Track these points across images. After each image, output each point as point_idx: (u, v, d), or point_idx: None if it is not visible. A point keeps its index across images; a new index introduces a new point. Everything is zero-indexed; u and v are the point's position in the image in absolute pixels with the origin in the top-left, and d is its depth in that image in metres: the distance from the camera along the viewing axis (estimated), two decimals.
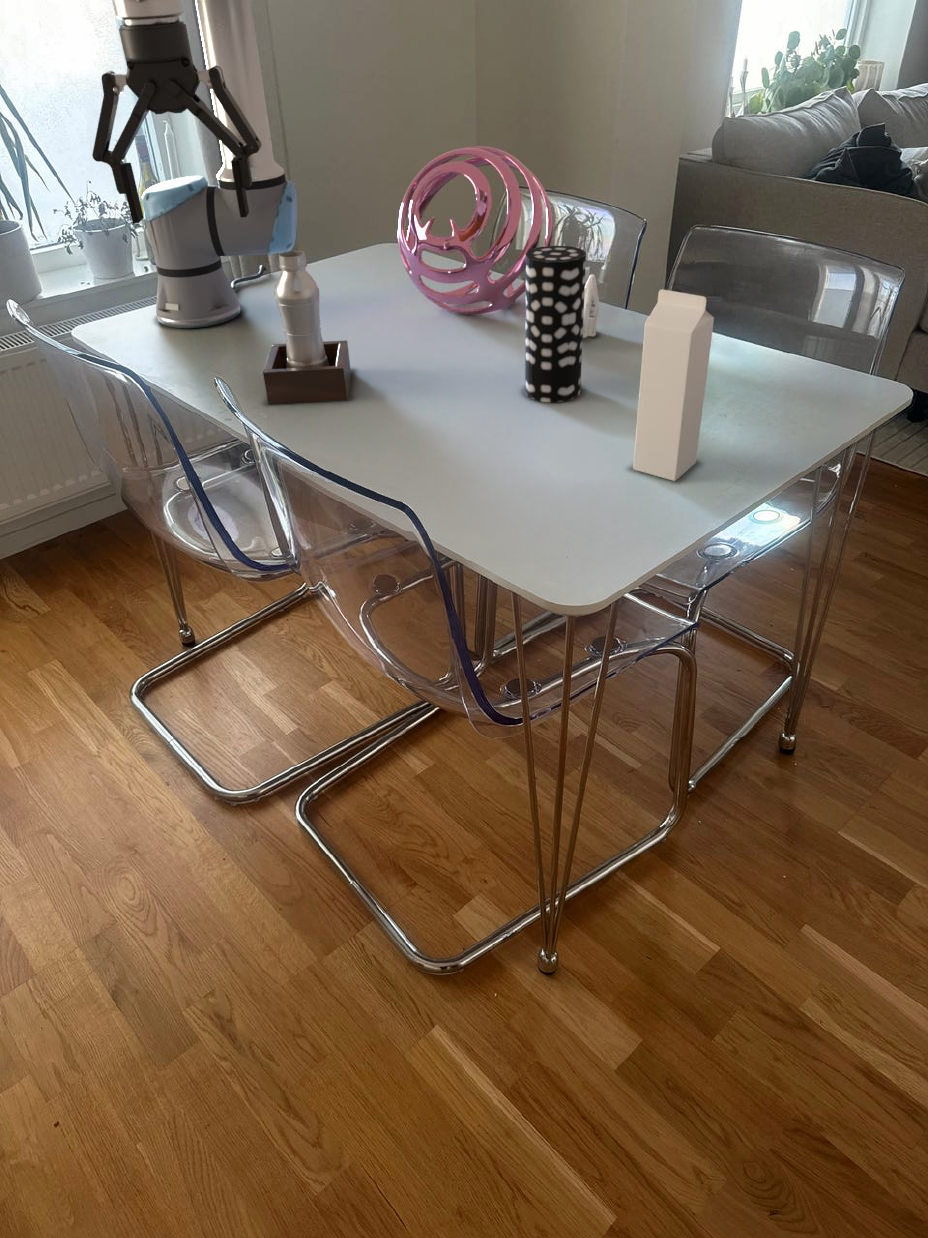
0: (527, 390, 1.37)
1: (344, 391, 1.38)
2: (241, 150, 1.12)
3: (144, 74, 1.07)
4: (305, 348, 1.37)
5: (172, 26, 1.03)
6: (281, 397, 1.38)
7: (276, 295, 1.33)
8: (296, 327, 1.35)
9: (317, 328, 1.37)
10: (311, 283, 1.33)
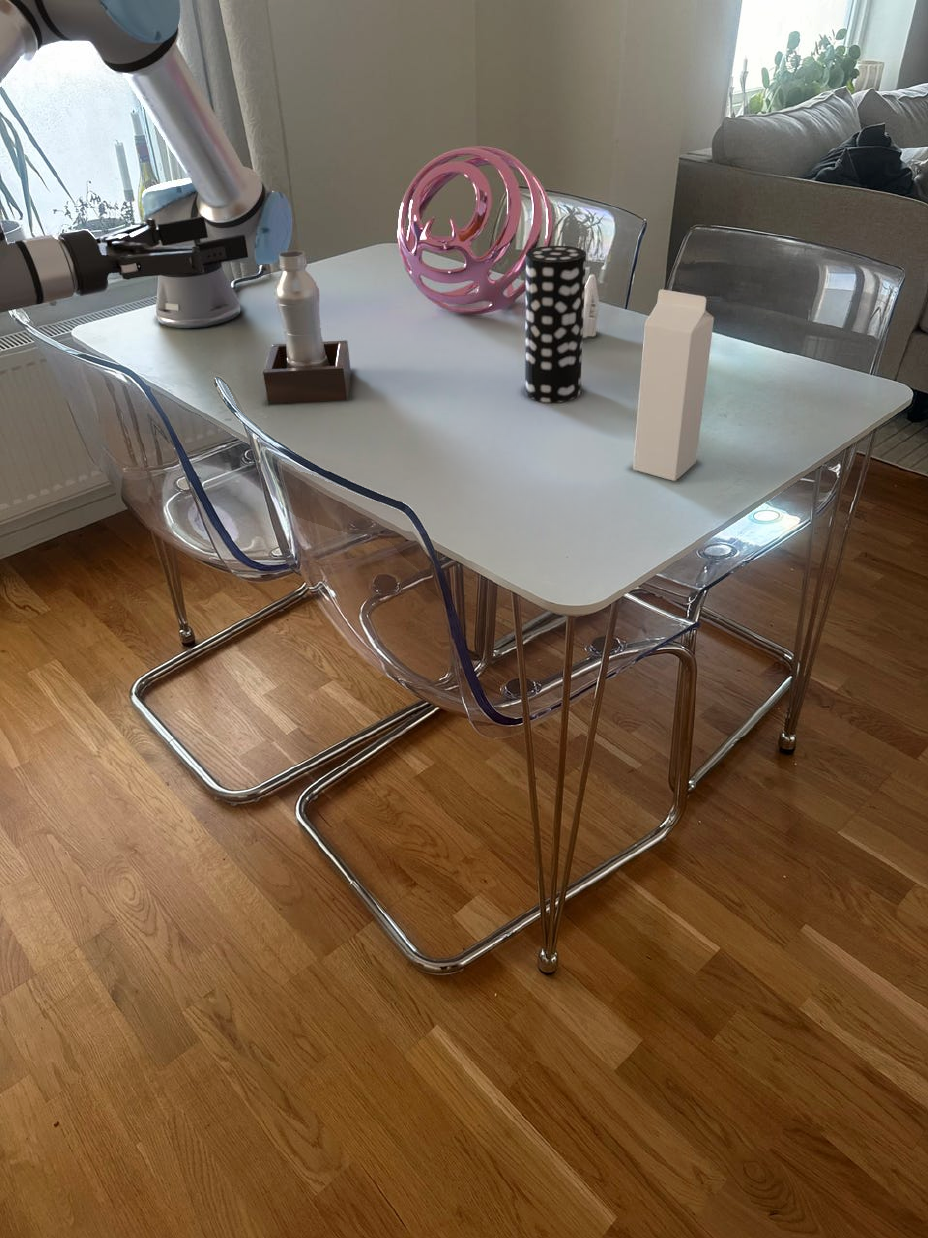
0: (527, 390, 1.37)
1: (344, 391, 1.38)
2: None
3: None
4: (305, 348, 1.37)
5: (82, 288, 1.15)
6: (281, 397, 1.38)
7: (276, 295, 1.33)
8: (296, 327, 1.35)
9: (317, 328, 1.37)
10: (311, 283, 1.33)
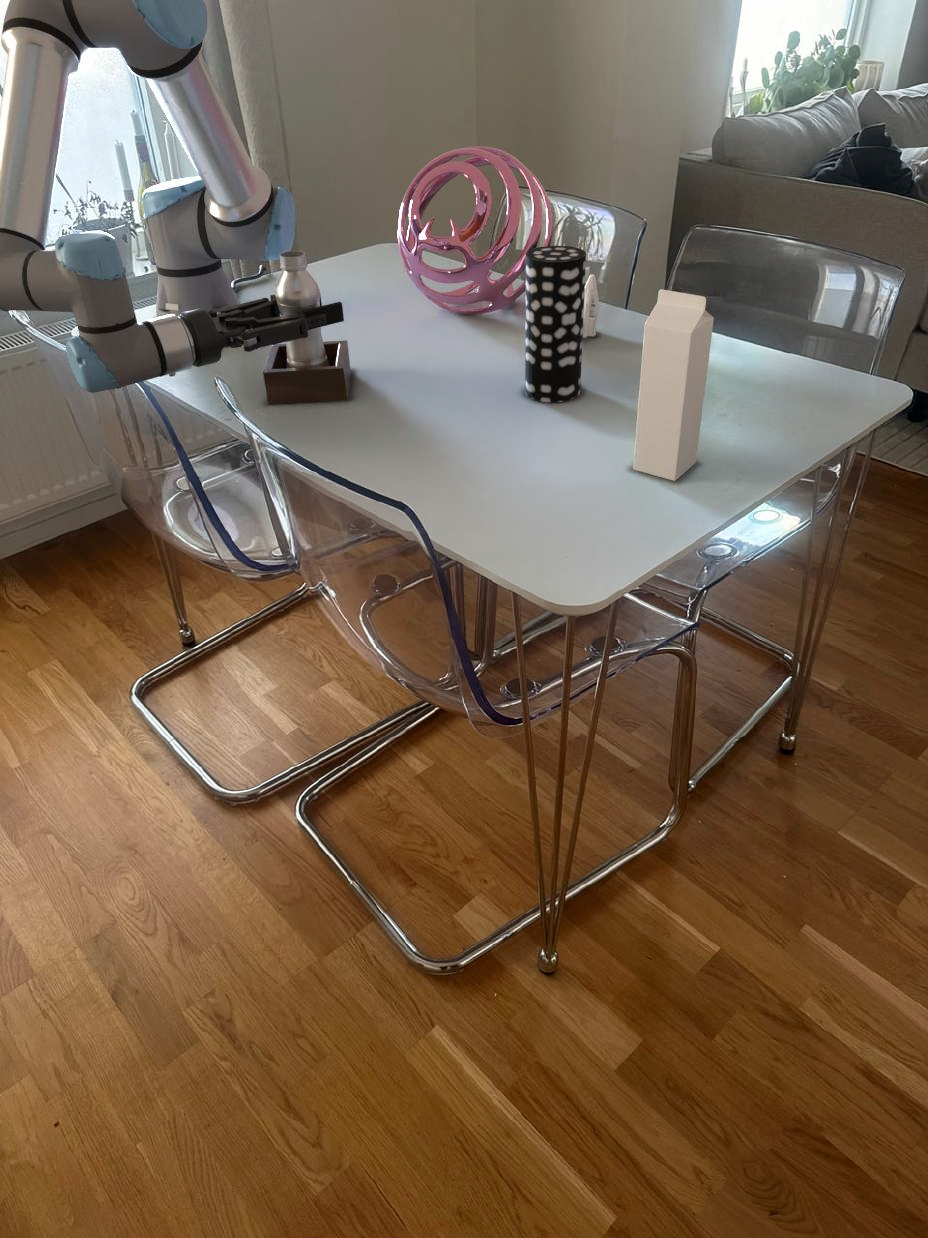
0: (527, 390, 1.37)
1: (344, 391, 1.38)
2: None
3: None
4: (305, 348, 1.37)
5: (200, 361, 1.28)
6: (281, 397, 1.38)
7: (276, 295, 1.33)
8: None
9: (317, 328, 1.37)
10: (311, 283, 1.33)
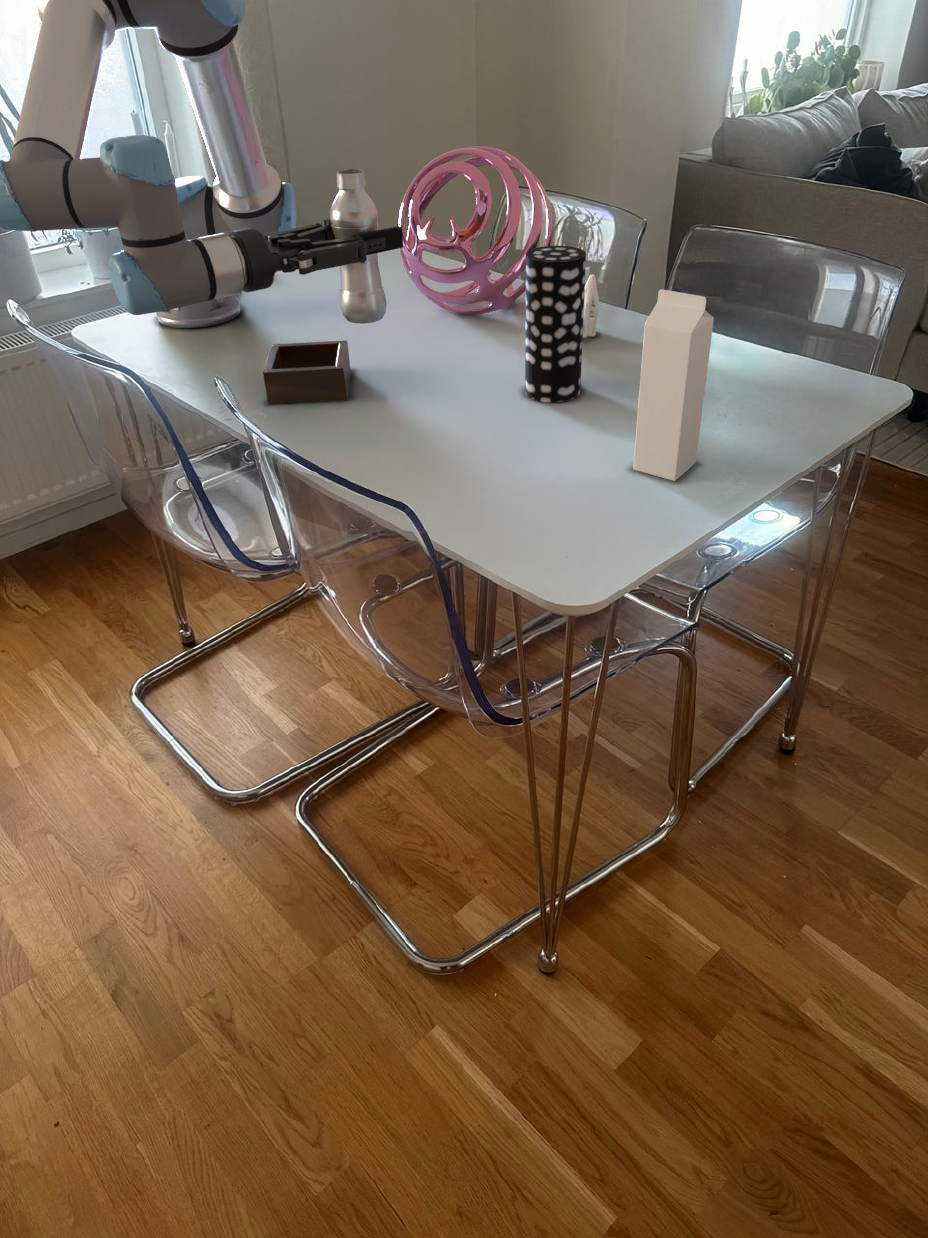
0: (527, 390, 1.37)
1: (344, 391, 1.38)
2: None
3: None
4: (361, 276, 1.28)
5: (251, 285, 1.19)
6: (281, 397, 1.38)
7: (332, 217, 1.24)
8: None
9: (374, 255, 1.27)
10: (370, 204, 1.23)
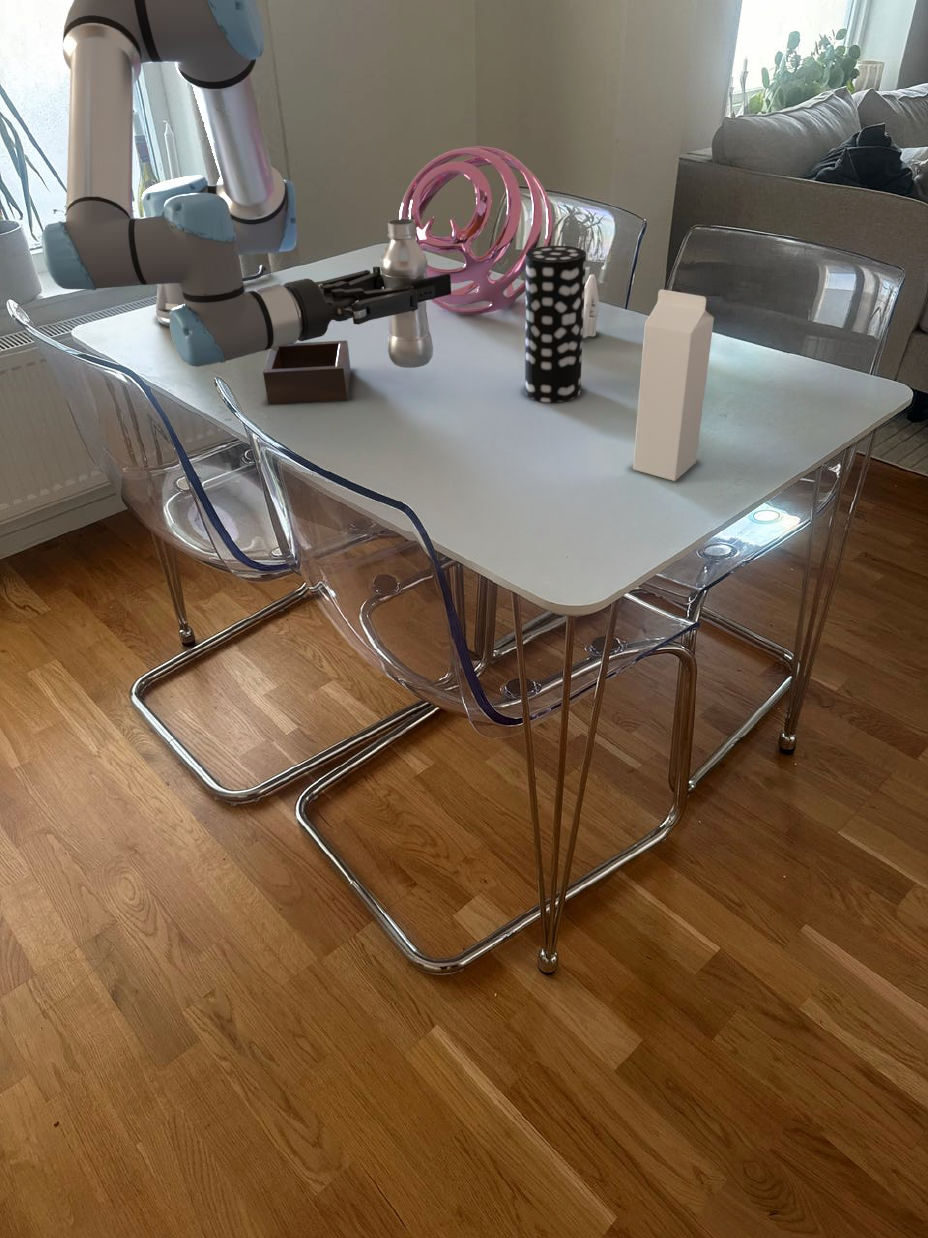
0: (527, 390, 1.37)
1: (344, 391, 1.38)
2: None
3: None
4: (410, 322, 1.30)
5: (306, 335, 1.21)
6: (281, 397, 1.38)
7: (383, 266, 1.26)
8: None
9: (423, 302, 1.29)
10: (420, 253, 1.26)
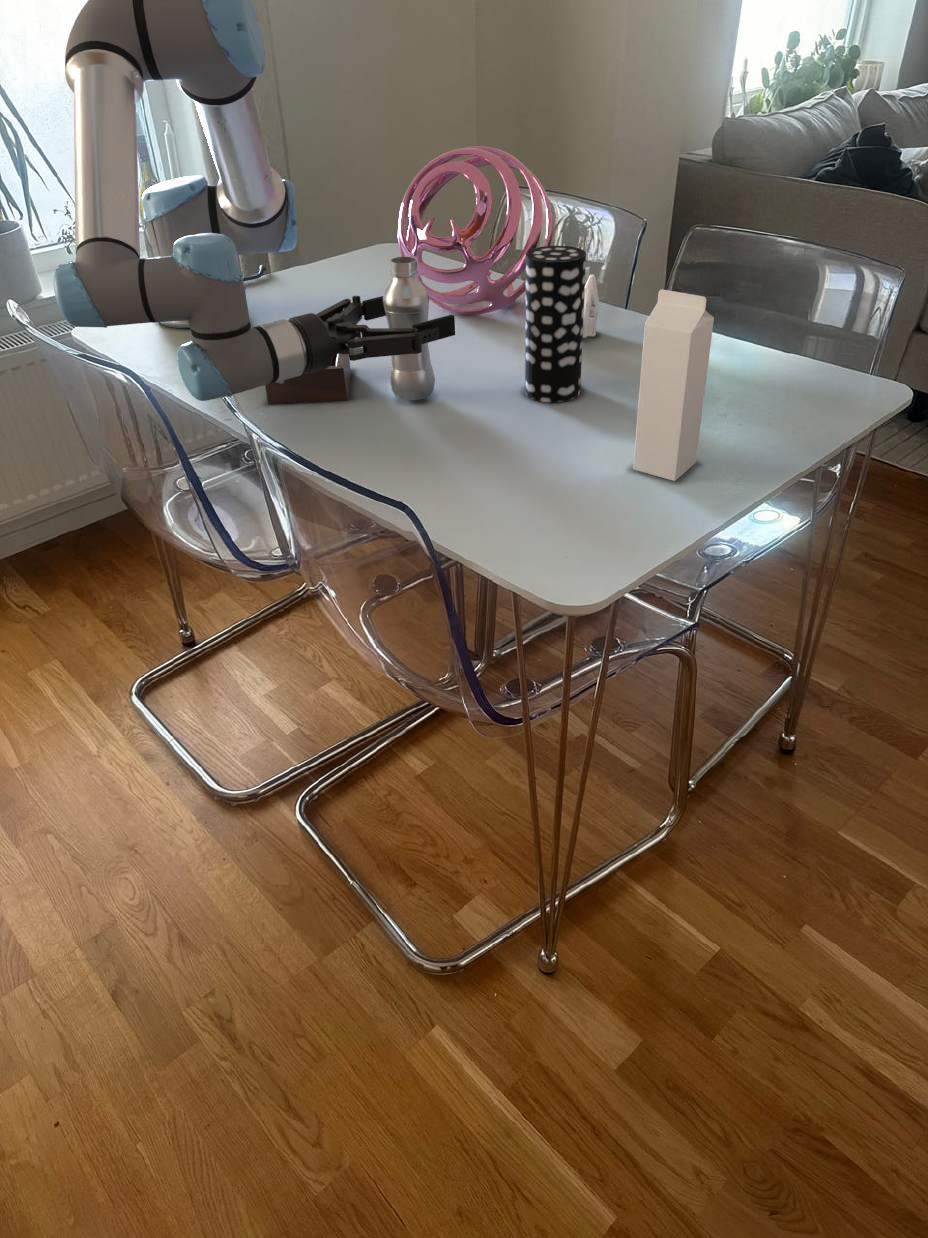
0: (527, 390, 1.37)
1: (344, 391, 1.38)
2: None
3: None
4: (412, 357, 1.33)
5: (310, 368, 1.24)
6: (281, 397, 1.38)
7: (386, 302, 1.29)
8: None
9: None
10: (422, 290, 1.29)
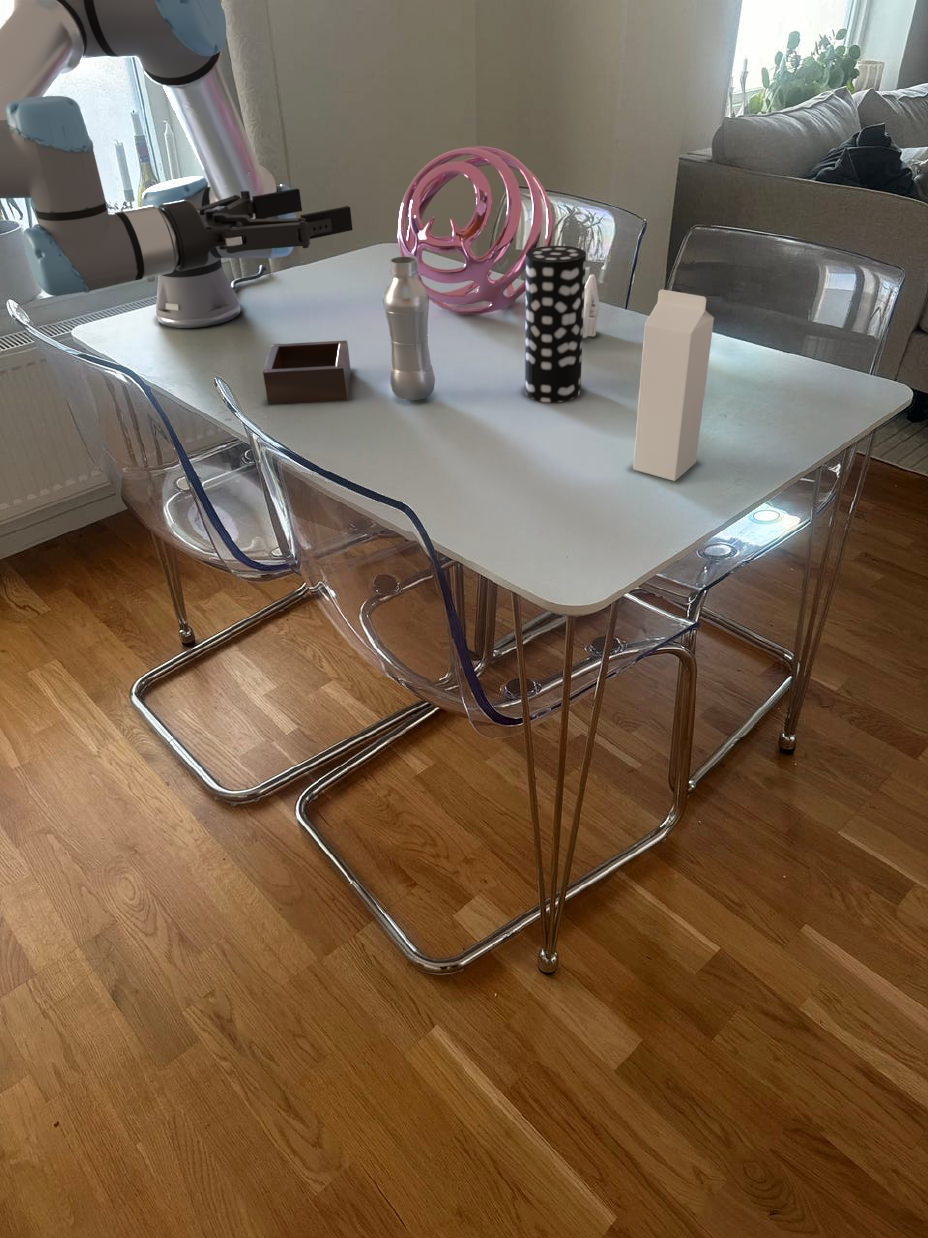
0: (527, 390, 1.37)
1: (344, 391, 1.38)
2: None
3: None
4: (412, 357, 1.33)
5: (183, 263, 1.09)
6: (281, 397, 1.38)
7: (386, 302, 1.29)
8: (405, 336, 1.31)
9: (425, 336, 1.32)
10: (422, 290, 1.29)
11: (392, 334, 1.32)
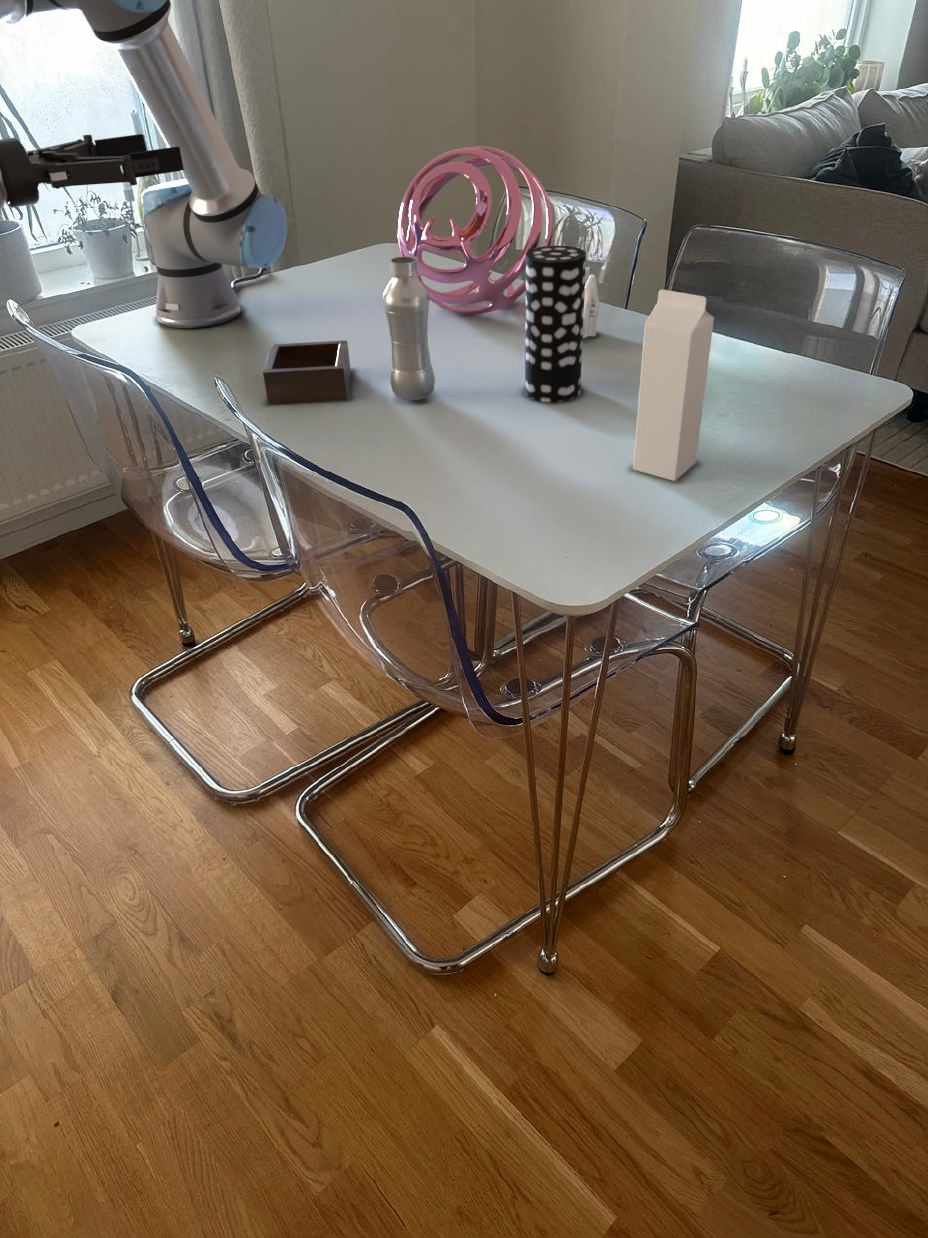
0: (527, 390, 1.37)
1: (344, 391, 1.38)
2: None
3: None
4: (412, 357, 1.33)
5: (12, 198, 1.13)
6: (281, 397, 1.38)
7: (386, 302, 1.29)
8: (405, 336, 1.31)
9: (425, 336, 1.32)
10: (422, 290, 1.29)
11: (392, 334, 1.32)
